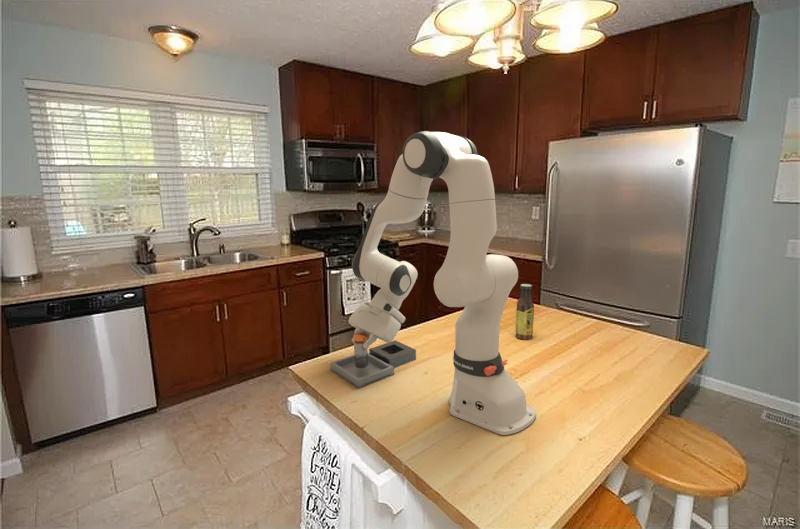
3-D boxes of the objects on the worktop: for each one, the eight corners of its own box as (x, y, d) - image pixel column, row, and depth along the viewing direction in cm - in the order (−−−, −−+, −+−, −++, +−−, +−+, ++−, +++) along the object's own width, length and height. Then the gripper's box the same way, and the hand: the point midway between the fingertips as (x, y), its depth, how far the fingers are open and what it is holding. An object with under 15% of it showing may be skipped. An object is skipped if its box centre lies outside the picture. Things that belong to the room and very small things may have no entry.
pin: (370, 365, 126) (369, 335, 124) (359, 369, 124) (358, 338, 122) (363, 361, 129) (361, 331, 127) (352, 365, 127) (350, 334, 125)
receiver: (416, 359, 135) (415, 349, 134) (389, 369, 128) (389, 359, 127) (395, 349, 143) (395, 340, 142) (369, 358, 136) (369, 348, 136)
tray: (394, 374, 125) (393, 367, 124) (358, 388, 117) (358, 380, 116) (364, 358, 137) (364, 351, 136) (330, 369, 129) (330, 362, 128)
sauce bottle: (529, 341, 147) (531, 288, 143) (512, 338, 151) (514, 286, 147) (535, 335, 152) (537, 284, 148) (519, 332, 156) (520, 282, 152)
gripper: (358, 295, 135) (334, 331, 131) (397, 309, 119) (371, 350, 115) (370, 305, 138) (347, 340, 134) (409, 320, 123) (384, 360, 119)
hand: (358, 345), depth 125 cm, fingers closed on pin, 4 cm apart
